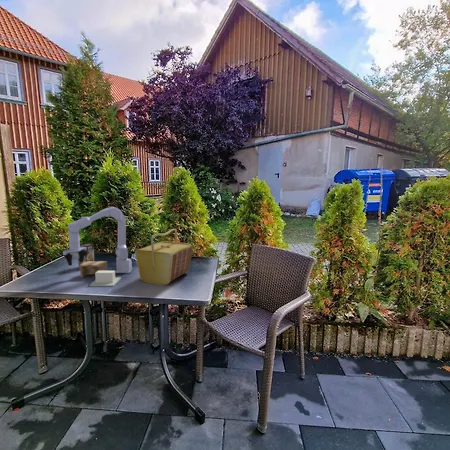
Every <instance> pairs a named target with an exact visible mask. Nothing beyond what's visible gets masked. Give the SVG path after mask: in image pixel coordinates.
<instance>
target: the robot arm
mask: <svg viewBox="0 0 450 450" xmlns="http://www.w3.org/2000/svg"><path fill="white" fill-rule="evenodd" d="M104 217H112V218H114V219H115V220H116V221H117V245H116V249H115V252H114V253H115V255H116V259H115V260H116V261H115V262H116V270H115V274H130V272H132V270H133V267H132V264H133V263H132V259H131V258H128V257H129V253H128V249H127V245H126V243H127V240H126V239H127V236H126V235H127V234H126V233H127V231H126V230H127V227H126V225H127V218H126V217H125V215H124V213H123V212H122V210H120V209H119V208H118V207H115V206H109V207H106V208H104V209H102V210H100V211H98V212H96V213H94V214H92V215H91V216H82V217H81V218H80V219H78V220H74V221H73V222H70V223H69V224H68V225H67V230H68V242H69V243H68V245H69V249H67V250H63V251H62V255H63V257H64V258H65V260H66V262H67V265H68V266H70V267H71V266H73V265H72V264H73V254H74V253H77V255H78V254H79V261H80V262H83V259H84V256H85V254H86V251H85V250H86V247H80V245H81V244H80V234H79V231H80V230H83V229H85V228H86V227H88V226H90V225H92V222H94V221H96V220H97V221H98V220H99V219H101V218H104Z"/></svg>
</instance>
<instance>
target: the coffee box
mask: <svg viewBox="0 0 450 450" xmlns="http://www.w3.org/2000/svg"><path fill="white" fill-rule="evenodd" d="M80 247H86V250H85V251H86V254H85V256H84V259H83V262H85V261H95V250H94V243H84V244H80ZM77 259H78V261H77V263H78V269H80V264H82V263H83V262H80V261H79V254H78V253H77Z"/></svg>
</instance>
